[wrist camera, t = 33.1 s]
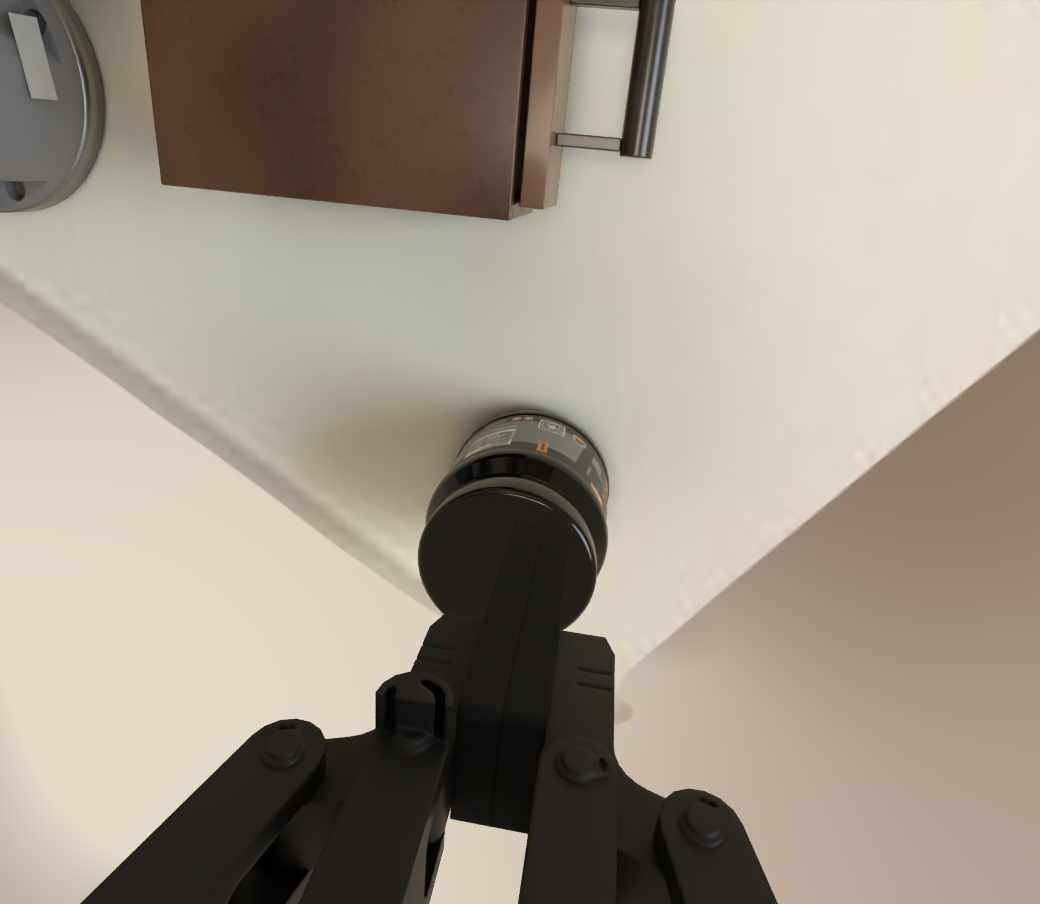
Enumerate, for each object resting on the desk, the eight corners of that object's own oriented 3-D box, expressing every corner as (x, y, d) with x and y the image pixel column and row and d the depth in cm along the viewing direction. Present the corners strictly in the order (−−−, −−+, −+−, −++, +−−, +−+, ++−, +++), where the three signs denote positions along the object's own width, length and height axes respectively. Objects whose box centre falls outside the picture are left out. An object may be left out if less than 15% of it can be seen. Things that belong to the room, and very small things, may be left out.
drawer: (680, -54, 32) (695, -109, 26) (640, 213, 37) (644, 219, 31) (269, -79, 34) (192, -136, 28) (282, 177, 39) (218, 176, 33)
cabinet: (557, -69, 34) (538, -146, 26) (532, 212, 39) (509, 220, 31) (232, -89, 35) (120, -167, 27) (250, 184, 41) (160, 184, 33)
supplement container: (556, 568, 48) (537, 684, 37) (432, 493, 47) (374, 589, 36) (641, 458, 44) (648, 552, 33) (506, 374, 43) (467, 440, 32)
